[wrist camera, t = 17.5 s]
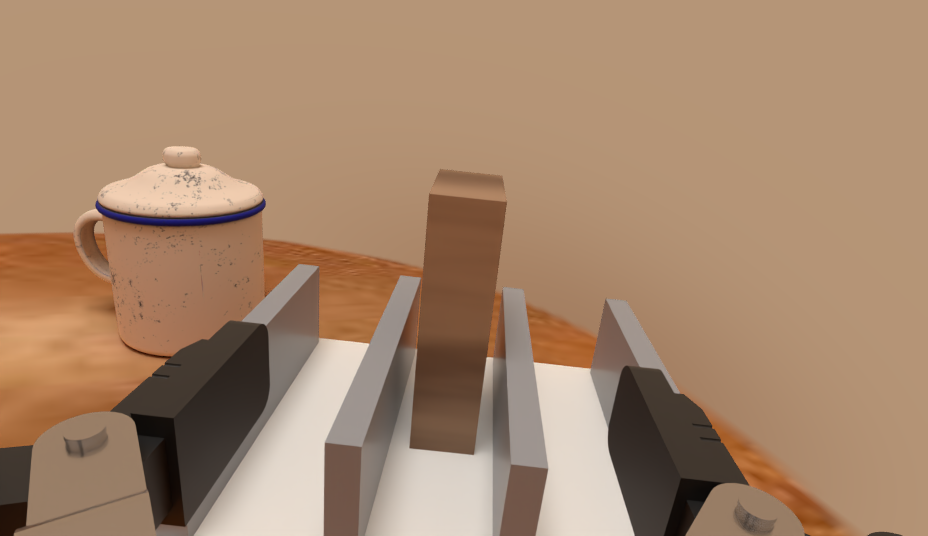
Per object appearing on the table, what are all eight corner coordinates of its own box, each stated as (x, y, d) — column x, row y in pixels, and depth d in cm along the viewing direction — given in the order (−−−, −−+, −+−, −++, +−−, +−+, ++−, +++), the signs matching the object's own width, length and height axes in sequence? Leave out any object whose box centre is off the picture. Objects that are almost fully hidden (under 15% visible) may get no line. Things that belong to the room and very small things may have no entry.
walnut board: (473, 454, 25) (506, 201, 21) (409, 448, 25) (429, 193, 21) (475, 388, 30) (502, 175, 26) (422, 383, 30) (440, 169, 26)
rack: (706, 638, 19) (757, 504, 16) (138, 570, 19) (117, 429, 17) (611, 385, 34) (631, 298, 31) (296, 349, 34) (295, 260, 32)
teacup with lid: (290, 307, 39) (288, 147, 35) (226, 371, 31) (213, 170, 27) (136, 285, 40) (116, 127, 36) (31, 342, 32) (-10, 142, 28)
